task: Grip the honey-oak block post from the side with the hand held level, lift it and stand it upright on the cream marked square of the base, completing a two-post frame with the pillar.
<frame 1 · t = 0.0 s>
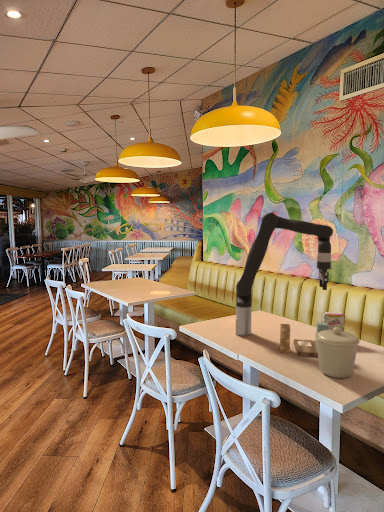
hand: (322, 288, 190), 29 cm above the table, tool pointing down, fingers open, 8 cm apart
canister: (335, 373, 148), on the table
oak post: (284, 351, 173), on the table
frame base: (311, 349, 174), on the table
candy bar box: (332, 341, 187), on the table
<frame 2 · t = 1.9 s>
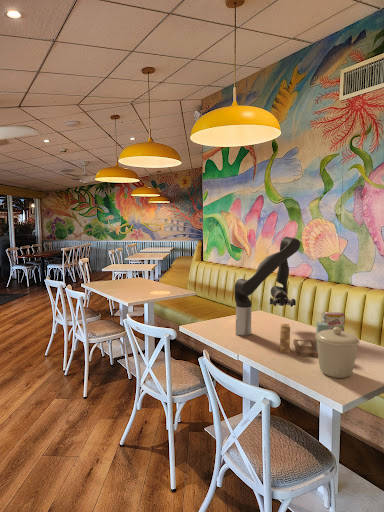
hand: (283, 304, 182), 22 cm above the table, tool horizontal, fingers open, 8 cm apart
nothing on the table moved.
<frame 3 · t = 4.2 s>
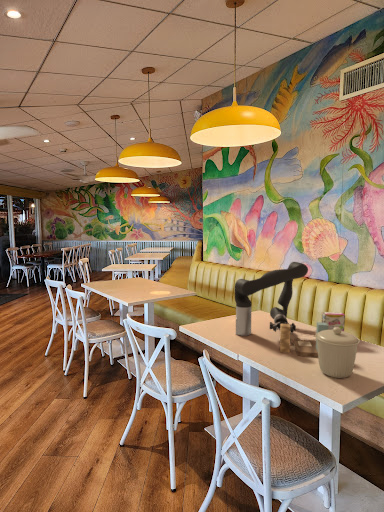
hand: (283, 330, 181), 8 cm above the table, tool horizontal, fingers open, 8 cm apart
nothing on the table moved.
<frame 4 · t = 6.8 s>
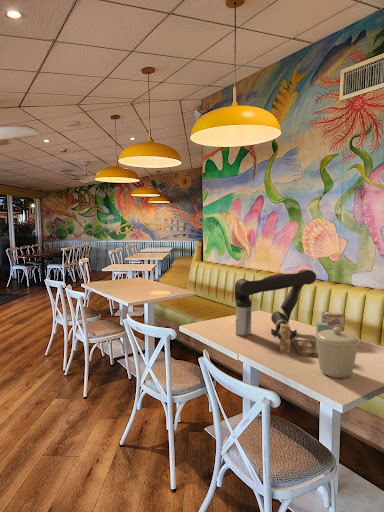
hand: (285, 338, 170), 8 cm above the table, tool horizontal, fingers closed on oak post, 4 cm apart
oak post: (284, 351, 173), on the table, touching gripper
everything else where it was.
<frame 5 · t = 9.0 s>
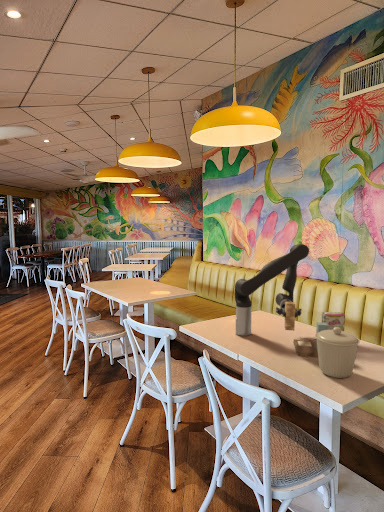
hand: (290, 315, 169), 20 cm above the table, tool horizontal, fingers closed on oak post, 4 cm apart
oak post: (289, 328, 173), point 12 cm above the table, touching gripper
everything else where it was.
when the fingers open (11 cm above the table, at t = 11.6 s): oak post stays where it is, resting on frame base.
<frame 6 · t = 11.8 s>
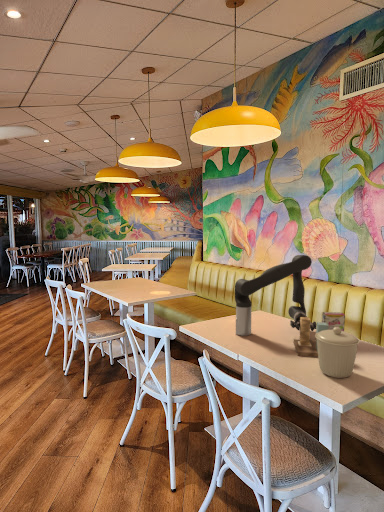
hand: (305, 329, 174), 11 cm above the table, tool horizontal, fingers open, 6 cm apart
oak post: (304, 343, 178), point 2 cm above the table, touching frame base
everything else where it was.
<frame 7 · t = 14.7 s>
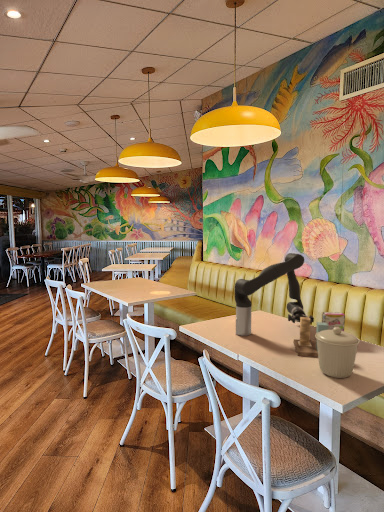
hand: (302, 322, 186), 11 cm above the table, tool horizontal, fingers open, 8 cm apart
nothing on the table moved.
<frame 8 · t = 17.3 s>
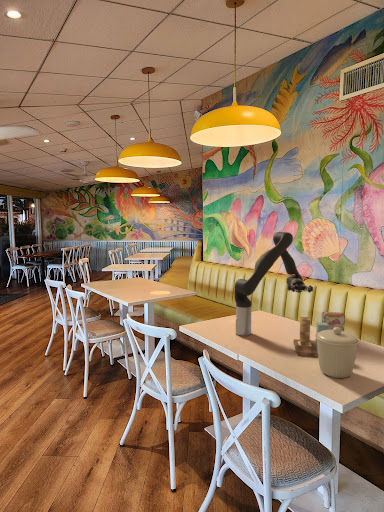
hand: (301, 290, 190), 28 cm above the table, tool horizontal, fingers open, 8 cm apart
nothing on the table moved.
at the end: oak post 0.0 cm from the target spot on the frame base, point 2.1 cm above the frame base's base; oak post tilted 0°; the gripper is holding nothing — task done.
